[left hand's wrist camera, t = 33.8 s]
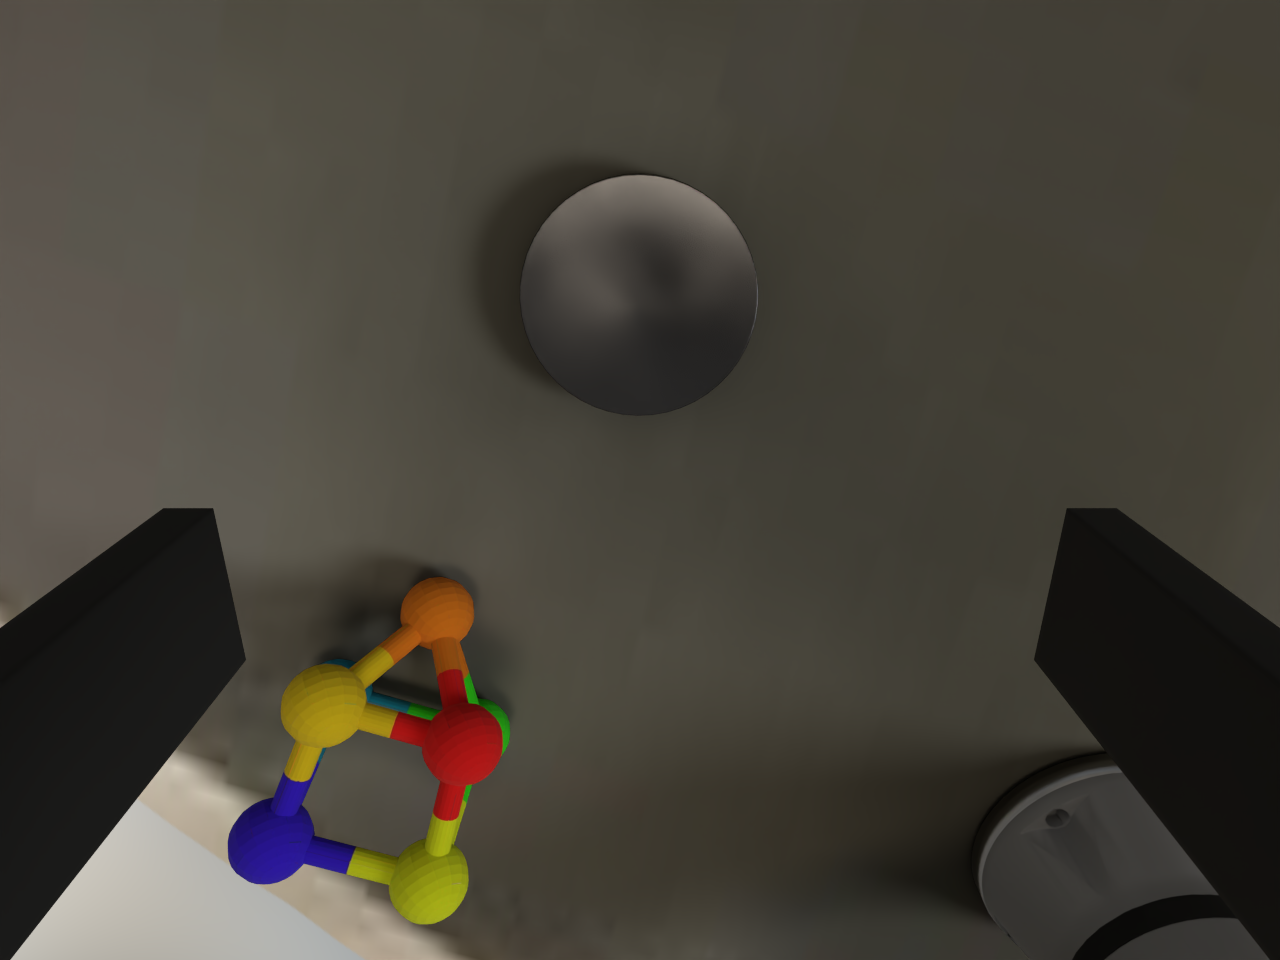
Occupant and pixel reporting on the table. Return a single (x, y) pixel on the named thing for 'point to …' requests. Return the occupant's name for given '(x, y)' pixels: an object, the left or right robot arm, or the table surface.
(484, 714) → the molecular model
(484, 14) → the table surface
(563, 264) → the lid
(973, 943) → the table surface
